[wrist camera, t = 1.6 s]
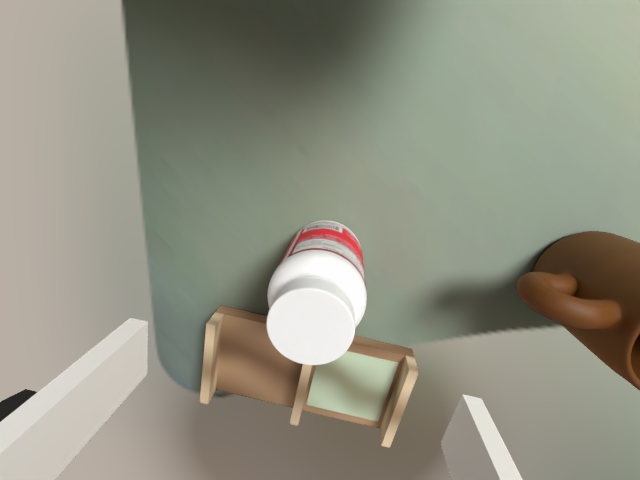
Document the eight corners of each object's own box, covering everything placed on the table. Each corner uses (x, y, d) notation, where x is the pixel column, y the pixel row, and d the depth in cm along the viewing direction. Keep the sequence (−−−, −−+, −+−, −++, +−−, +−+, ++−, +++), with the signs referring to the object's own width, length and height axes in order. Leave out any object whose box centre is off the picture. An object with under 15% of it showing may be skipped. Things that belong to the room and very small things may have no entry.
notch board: (220, 305, 29) (206, 323, 26) (411, 348, 28) (418, 372, 26) (213, 378, 32) (199, 402, 29) (386, 419, 31) (389, 447, 28)
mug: (460, 290, 26) (517, 369, 17) (495, 205, 24) (582, 246, 15) (600, 322, 26) (731, 420, 17) (651, 240, 23) (836, 303, 14)
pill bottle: (320, 297, 28) (301, 394, 17) (276, 246, 26) (227, 317, 16) (377, 259, 26) (394, 341, 16) (332, 203, 25) (319, 251, 14)
